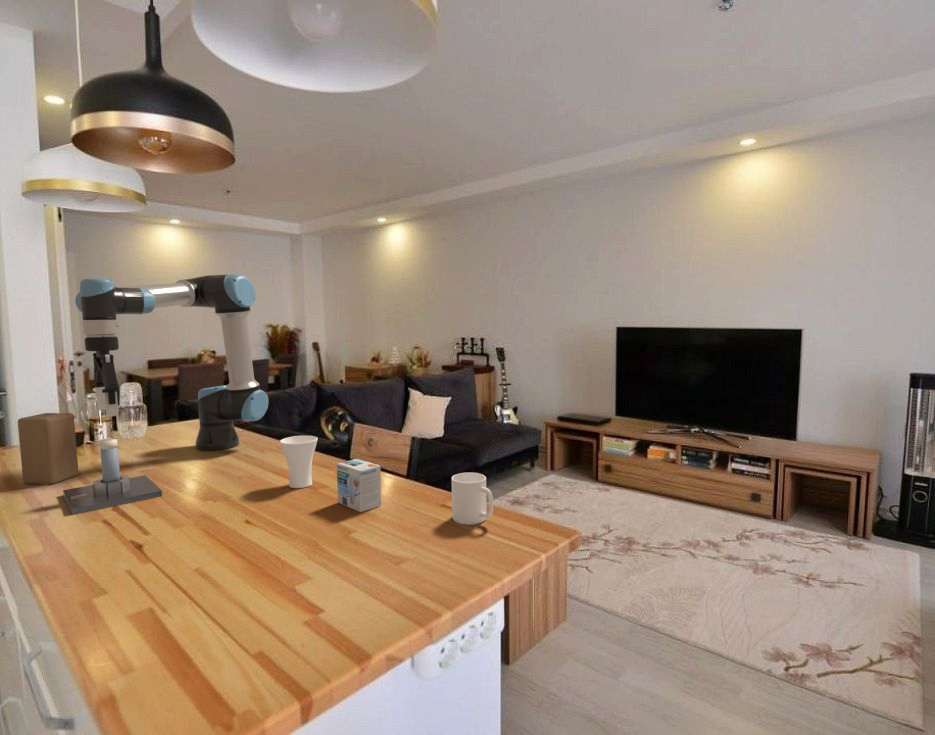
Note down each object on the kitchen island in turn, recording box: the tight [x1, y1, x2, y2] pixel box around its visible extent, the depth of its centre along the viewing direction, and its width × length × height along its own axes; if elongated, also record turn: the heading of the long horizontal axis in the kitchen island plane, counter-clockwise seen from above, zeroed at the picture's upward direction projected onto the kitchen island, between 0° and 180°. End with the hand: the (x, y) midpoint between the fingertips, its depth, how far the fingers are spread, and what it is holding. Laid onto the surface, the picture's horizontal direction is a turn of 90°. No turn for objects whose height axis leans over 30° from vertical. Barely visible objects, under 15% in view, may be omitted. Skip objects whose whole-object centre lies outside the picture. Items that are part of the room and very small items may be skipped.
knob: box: [98, 437, 121, 483], centre depth 144 cm, size 4×4×15 cm
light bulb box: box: [336, 458, 382, 513], centre depth 136 cm, size 11×7×11 cm, turn 47°
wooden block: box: [17, 412, 79, 485], centre depth 159 cm, size 10×10×20 cm
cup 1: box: [279, 435, 318, 489], centre depth 152 cm, size 10×10×14 cm
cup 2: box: [451, 472, 495, 526], centre depth 124 cm, size 8×12×10 cm
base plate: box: [62, 474, 163, 516], centre depth 145 cm, size 20×20×4 cm
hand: (107, 412), depth 145 cm, fingers open, 13 cm apart
